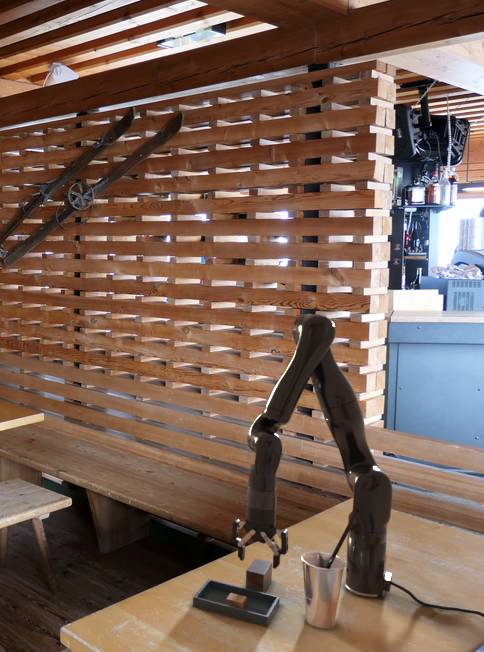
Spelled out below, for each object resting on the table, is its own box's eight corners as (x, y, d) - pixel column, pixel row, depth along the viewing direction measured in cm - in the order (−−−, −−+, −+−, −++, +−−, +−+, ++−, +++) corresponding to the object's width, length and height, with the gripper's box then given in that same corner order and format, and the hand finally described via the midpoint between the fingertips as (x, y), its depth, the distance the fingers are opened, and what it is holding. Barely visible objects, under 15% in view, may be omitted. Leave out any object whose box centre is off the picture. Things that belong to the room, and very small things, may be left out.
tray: (279, 605, 185) (279, 596, 185) (267, 626, 175) (267, 617, 175) (208, 587, 195) (208, 578, 195) (192, 606, 185) (193, 597, 185)
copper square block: (246, 602, 186) (246, 596, 186) (242, 609, 182) (242, 603, 182) (230, 598, 188) (230, 592, 188) (225, 605, 184) (226, 598, 184)
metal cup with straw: (354, 637, 171) (359, 510, 168) (302, 631, 173) (307, 506, 171) (343, 614, 181) (348, 495, 179) (294, 609, 183) (299, 491, 181)
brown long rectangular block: (271, 582, 199) (272, 562, 198) (263, 595, 191) (263, 574, 190) (254, 578, 201) (255, 558, 200) (245, 590, 193) (246, 570, 193)
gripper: (292, 505, 194) (289, 565, 195) (238, 494, 201) (235, 552, 203) (286, 513, 187) (282, 575, 189) (230, 502, 195) (227, 561, 196)
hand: (258, 563), depth 196 cm, fingers open, 8 cm apart
